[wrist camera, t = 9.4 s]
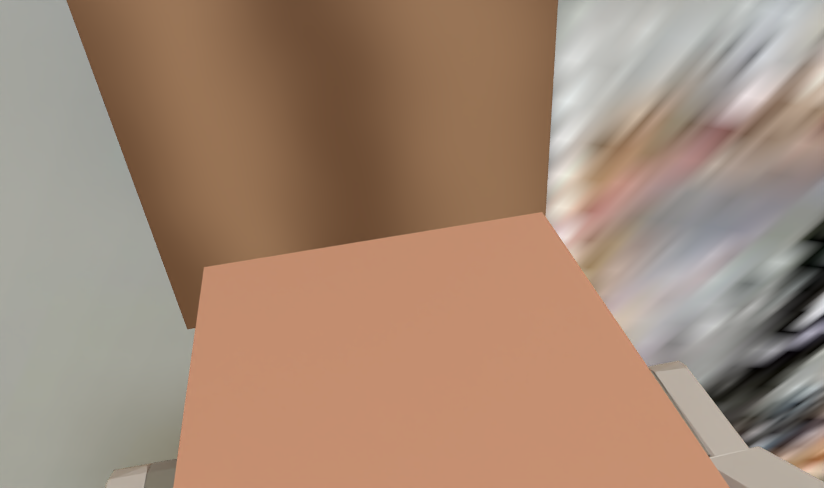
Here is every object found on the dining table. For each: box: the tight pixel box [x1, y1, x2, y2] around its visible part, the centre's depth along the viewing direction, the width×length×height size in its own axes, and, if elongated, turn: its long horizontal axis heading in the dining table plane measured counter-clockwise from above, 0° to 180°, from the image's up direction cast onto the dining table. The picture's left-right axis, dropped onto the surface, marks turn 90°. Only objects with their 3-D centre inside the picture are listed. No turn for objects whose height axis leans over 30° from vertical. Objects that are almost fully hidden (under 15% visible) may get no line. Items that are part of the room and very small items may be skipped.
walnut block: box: [67, 0, 558, 329], centre depth 20 cm, size 12×12×6 cm
